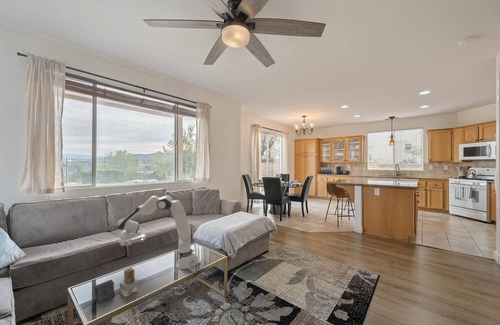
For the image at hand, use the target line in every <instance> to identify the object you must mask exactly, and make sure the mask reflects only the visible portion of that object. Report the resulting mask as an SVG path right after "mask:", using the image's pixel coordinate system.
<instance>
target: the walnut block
mask: <svg viewBox="0 0 500 325" xmlns="http://www.w3.org/2000/svg"><path fill="white" fill-rule="evenodd" d="M123 274H124V275H123V278H124V280H123V281H124V282H125V283H126V284H129V283H131V282H134V279H135V269H134V268H132V267H129V268H127V269H124V271H123Z"/></svg>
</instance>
